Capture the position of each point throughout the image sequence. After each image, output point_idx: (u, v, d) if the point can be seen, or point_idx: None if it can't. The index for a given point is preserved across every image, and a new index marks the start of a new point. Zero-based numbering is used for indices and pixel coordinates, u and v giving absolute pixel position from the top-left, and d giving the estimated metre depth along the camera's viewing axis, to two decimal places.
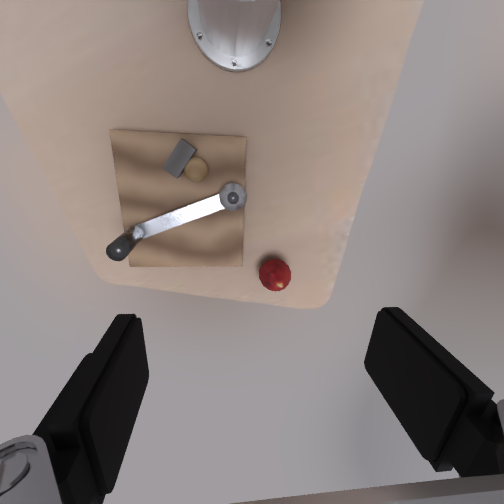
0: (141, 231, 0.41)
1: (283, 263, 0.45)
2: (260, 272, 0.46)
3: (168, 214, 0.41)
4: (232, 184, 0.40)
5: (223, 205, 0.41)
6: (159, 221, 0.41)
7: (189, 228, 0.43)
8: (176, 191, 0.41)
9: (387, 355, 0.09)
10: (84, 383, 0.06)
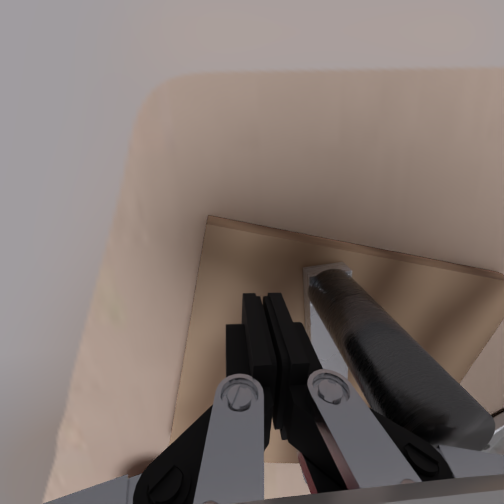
0: None
1: None
2: None
3: (345, 370, 0.17)
4: None
5: None
6: None
7: None
8: None
9: None
10: (258, 340, 0.08)
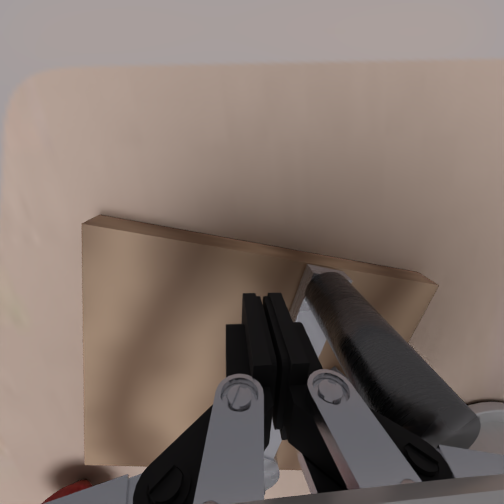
0: None
1: None
2: None
3: None
4: (272, 484, 0.20)
5: None
6: None
7: (192, 385, 0.18)
8: None
9: None
10: (258, 340, 0.08)
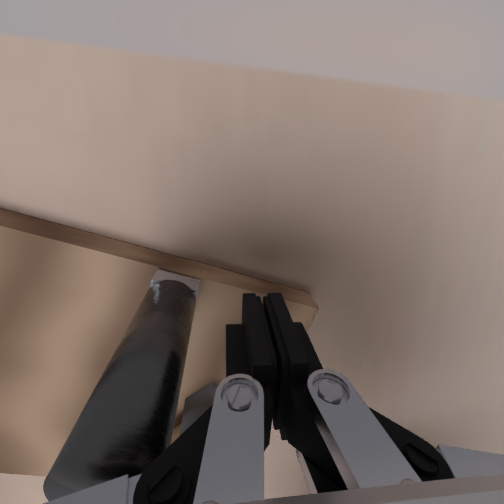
0: None
1: None
2: None
3: None
4: None
5: None
6: None
7: (51, 390, 0.17)
8: None
9: None
10: (258, 340, 0.08)
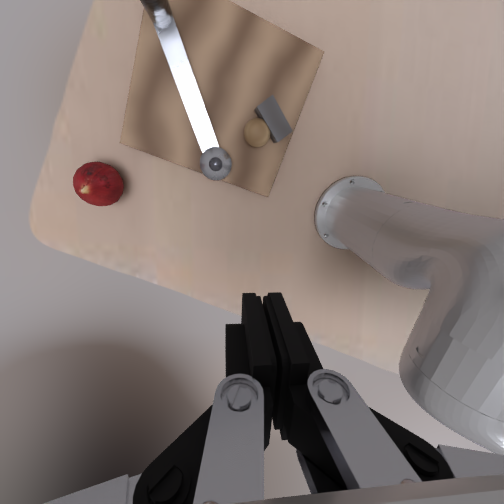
0: (165, 25, 0.29)
1: (115, 200, 0.35)
2: (107, 166, 0.33)
3: (191, 74, 0.31)
4: (230, 164, 0.35)
5: (205, 151, 0.34)
6: (182, 57, 0.30)
7: None
8: (239, 97, 0.34)
9: None
10: (258, 340, 0.08)
